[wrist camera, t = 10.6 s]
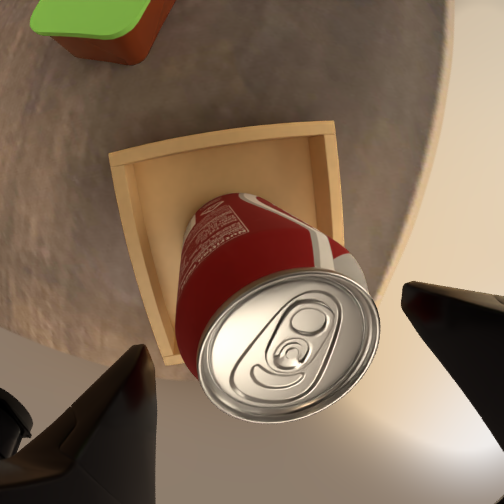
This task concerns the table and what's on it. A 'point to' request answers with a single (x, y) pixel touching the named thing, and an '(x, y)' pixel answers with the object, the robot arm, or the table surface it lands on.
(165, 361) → the tray
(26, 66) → the table surface
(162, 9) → the planter
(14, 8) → the table surface
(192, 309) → the soda can
